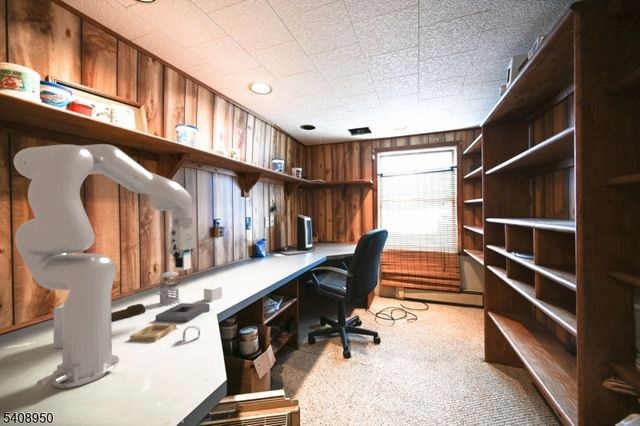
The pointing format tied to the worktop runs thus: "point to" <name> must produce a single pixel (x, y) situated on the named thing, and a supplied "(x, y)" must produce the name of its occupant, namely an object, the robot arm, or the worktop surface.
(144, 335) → the wooden square tray
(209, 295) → the white cube
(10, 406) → the worktop surface
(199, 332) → the wristwatch
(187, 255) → the plug
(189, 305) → the port panel
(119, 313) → the hand tool
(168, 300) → the french press
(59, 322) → the small box
